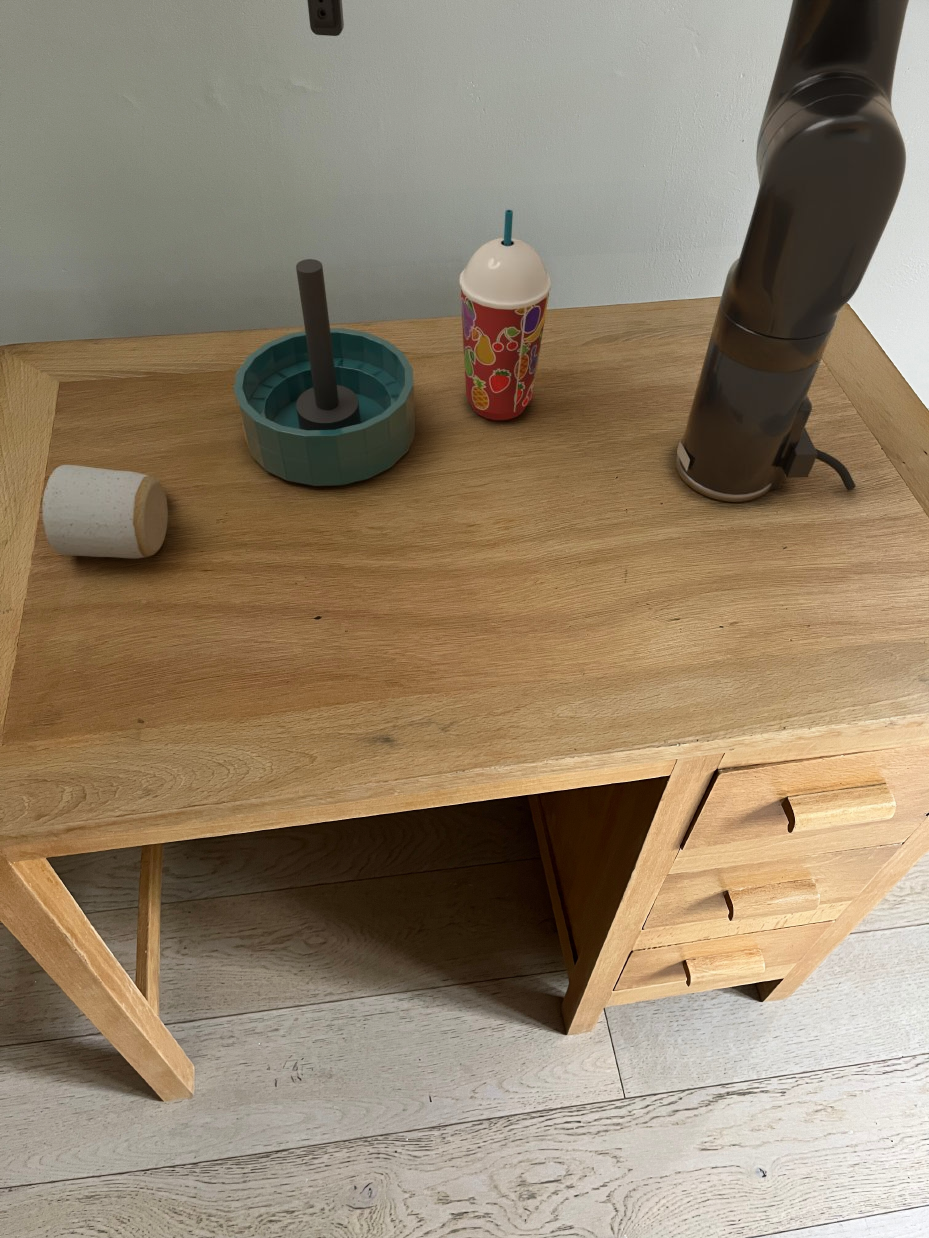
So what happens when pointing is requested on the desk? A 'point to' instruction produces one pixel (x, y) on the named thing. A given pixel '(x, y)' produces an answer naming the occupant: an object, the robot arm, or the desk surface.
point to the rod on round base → (321, 359)
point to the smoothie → (502, 324)
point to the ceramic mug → (104, 512)
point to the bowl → (327, 454)
